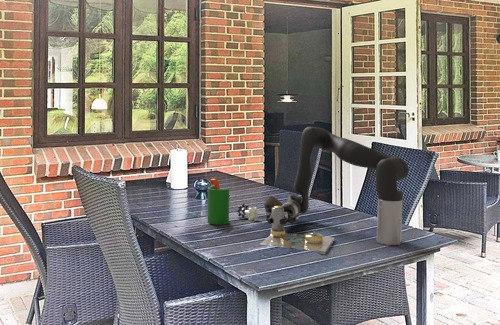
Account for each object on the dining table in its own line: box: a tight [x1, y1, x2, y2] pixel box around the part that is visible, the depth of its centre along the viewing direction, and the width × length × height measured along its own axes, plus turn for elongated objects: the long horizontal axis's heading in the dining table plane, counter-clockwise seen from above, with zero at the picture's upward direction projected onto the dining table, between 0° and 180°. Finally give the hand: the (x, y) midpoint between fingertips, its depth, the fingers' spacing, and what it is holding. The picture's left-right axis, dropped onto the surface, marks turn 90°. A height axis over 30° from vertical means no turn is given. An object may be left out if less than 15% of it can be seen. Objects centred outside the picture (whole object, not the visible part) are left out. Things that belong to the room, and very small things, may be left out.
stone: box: [263, 195, 283, 212], centre depth 261 cm, size 10×8×10 cm
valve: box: [236, 203, 258, 222], centre depth 242 cm, size 7×7×12 cm
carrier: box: [259, 231, 335, 255], centre depth 205 cm, size 25×19×4 cm
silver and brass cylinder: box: [270, 206, 286, 237], centre depth 212 cm, size 6×6×12 cm
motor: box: [207, 178, 230, 226], centre depth 237 cm, size 10×9×20 cm
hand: (276, 221), depth 209 cm, fingers closed on silver and brass cylinder, 4 cm apart
